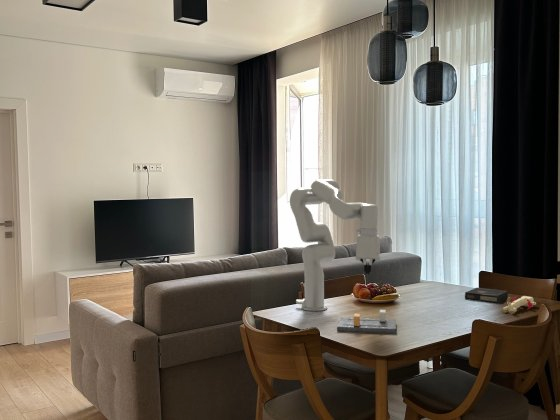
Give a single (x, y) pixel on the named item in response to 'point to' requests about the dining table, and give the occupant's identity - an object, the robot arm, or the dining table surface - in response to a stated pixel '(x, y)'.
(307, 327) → the dining table surface
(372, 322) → the console
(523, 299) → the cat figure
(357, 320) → the orange fader
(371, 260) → the robot arm
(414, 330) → the dining table surface
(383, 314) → the cream fader
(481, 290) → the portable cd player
